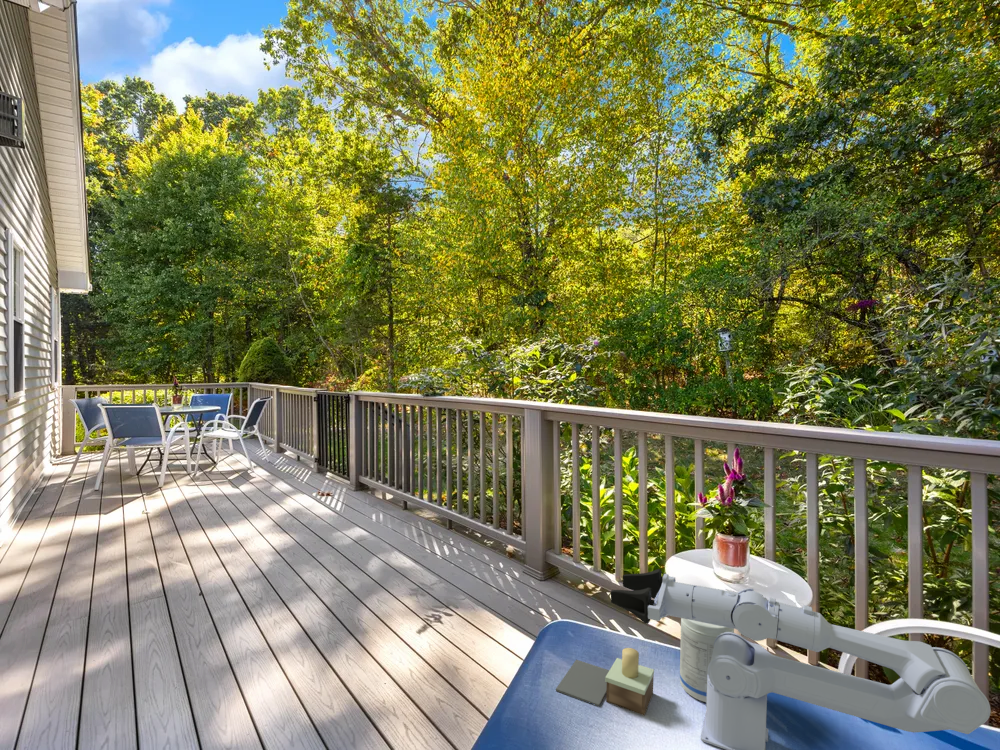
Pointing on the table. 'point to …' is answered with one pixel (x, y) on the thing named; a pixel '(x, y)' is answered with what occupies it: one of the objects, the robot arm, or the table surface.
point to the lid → (630, 672)
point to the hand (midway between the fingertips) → (617, 588)
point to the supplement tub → (697, 655)
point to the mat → (584, 682)
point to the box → (629, 698)
